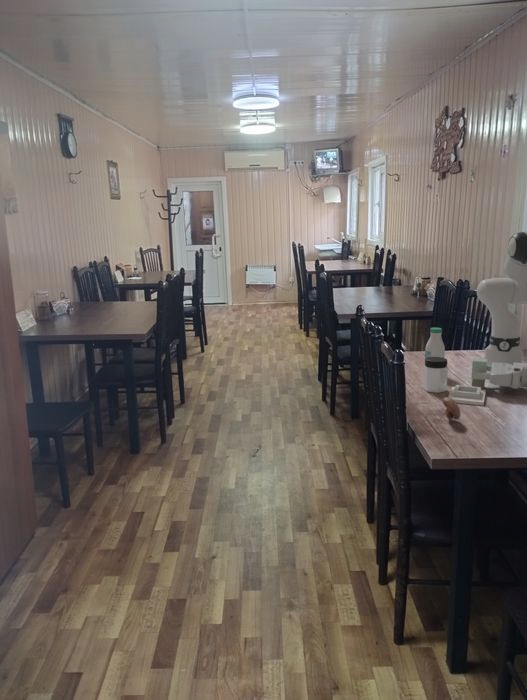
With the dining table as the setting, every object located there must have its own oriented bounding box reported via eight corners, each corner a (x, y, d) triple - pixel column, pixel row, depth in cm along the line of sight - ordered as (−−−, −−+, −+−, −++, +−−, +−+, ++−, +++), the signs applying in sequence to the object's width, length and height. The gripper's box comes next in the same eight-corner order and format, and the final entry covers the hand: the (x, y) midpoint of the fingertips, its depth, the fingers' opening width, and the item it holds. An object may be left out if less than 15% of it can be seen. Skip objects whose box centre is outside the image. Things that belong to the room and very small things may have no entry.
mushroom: (441, 416, 186) (443, 393, 184) (461, 418, 184) (463, 395, 182) (438, 423, 179) (440, 399, 178) (459, 426, 177) (460, 402, 175)
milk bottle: (444, 374, 236) (447, 327, 232) (442, 378, 229) (444, 330, 225) (425, 372, 239) (428, 326, 235) (422, 376, 233) (424, 329, 228)
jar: (435, 394, 209) (436, 363, 207) (418, 389, 216) (419, 358, 213) (451, 390, 214) (452, 359, 212) (433, 385, 221) (435, 355, 218)
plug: (471, 385, 220) (473, 358, 217) (485, 386, 218) (487, 359, 215) (470, 388, 215) (472, 360, 213) (484, 390, 213) (486, 362, 211)
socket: (451, 389, 215) (452, 381, 214) (485, 392, 210) (486, 385, 210) (447, 401, 201) (447, 393, 200) (483, 405, 196) (484, 397, 195)
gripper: (518, 360, 219) (480, 357, 224) (518, 373, 200) (476, 369, 206) (516, 375, 220) (478, 372, 225) (516, 390, 202) (475, 386, 207)
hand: (477, 371), depth 215 cm, fingers open, 8 cm apart
